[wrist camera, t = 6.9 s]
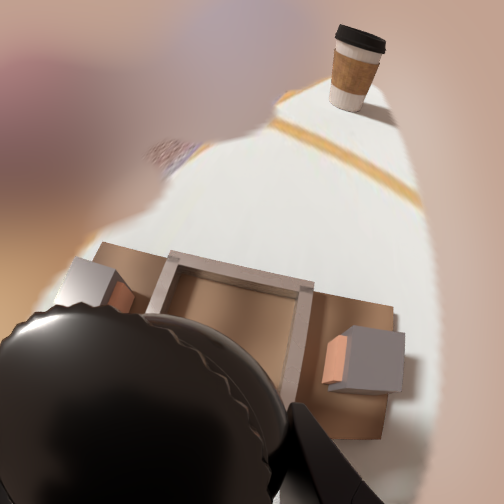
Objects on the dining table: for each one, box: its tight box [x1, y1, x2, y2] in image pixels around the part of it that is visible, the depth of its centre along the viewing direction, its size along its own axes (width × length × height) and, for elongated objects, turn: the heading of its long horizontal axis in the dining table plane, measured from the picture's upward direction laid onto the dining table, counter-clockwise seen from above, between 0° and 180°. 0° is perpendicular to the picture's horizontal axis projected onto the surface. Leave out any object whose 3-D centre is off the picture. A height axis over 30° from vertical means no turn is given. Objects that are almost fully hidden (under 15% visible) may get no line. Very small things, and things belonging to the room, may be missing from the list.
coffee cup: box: [329, 24, 386, 112], centre depth 34 cm, size 8×8×15 cm
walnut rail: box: [54, 242, 405, 440], centre depth 17 cm, size 26×11×5 cm, turn 77°
